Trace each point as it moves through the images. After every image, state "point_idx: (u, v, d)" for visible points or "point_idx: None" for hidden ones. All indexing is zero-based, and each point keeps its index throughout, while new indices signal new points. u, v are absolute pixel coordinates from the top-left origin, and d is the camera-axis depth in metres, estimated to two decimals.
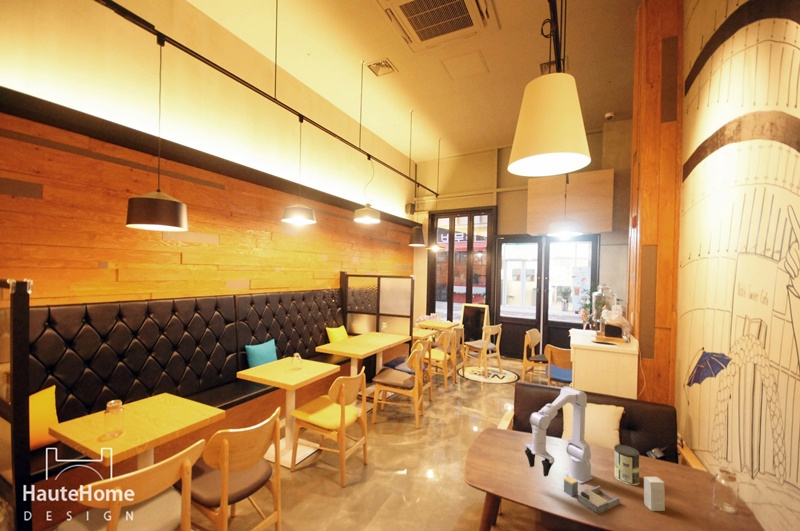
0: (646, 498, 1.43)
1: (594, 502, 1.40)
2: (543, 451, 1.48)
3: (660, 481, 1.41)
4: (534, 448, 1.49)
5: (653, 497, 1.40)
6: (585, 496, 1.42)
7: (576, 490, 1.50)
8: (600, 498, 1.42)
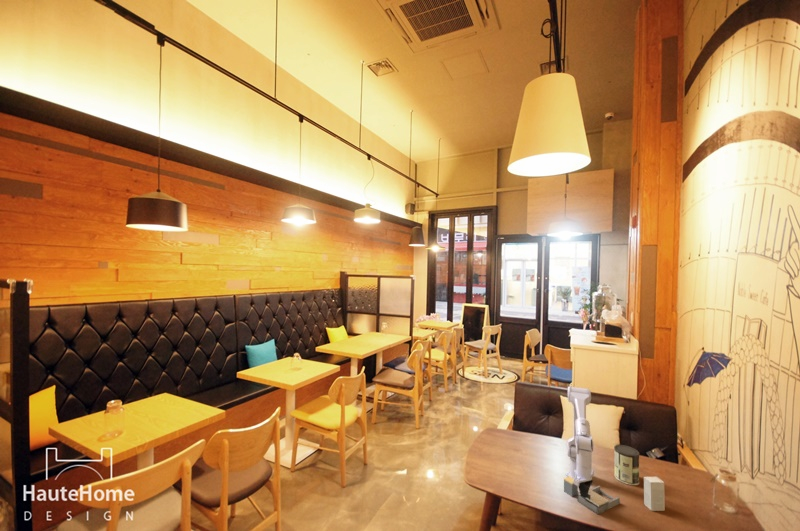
0: (646, 498, 1.43)
1: (595, 502, 1.40)
2: (579, 474, 1.42)
3: (660, 481, 1.41)
4: None
5: (653, 497, 1.40)
6: None
7: (576, 490, 1.50)
8: (601, 498, 1.42)
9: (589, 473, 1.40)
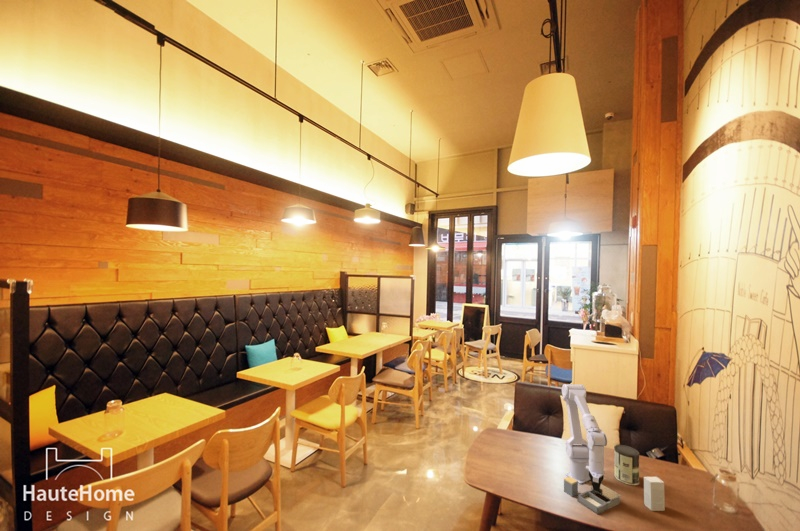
0: (646, 498, 1.43)
1: (607, 496, 1.44)
2: (594, 469, 1.45)
3: (660, 481, 1.41)
4: (589, 463, 1.49)
5: (653, 497, 1.40)
6: None
7: (576, 490, 1.50)
8: (613, 492, 1.46)
9: (603, 467, 1.45)
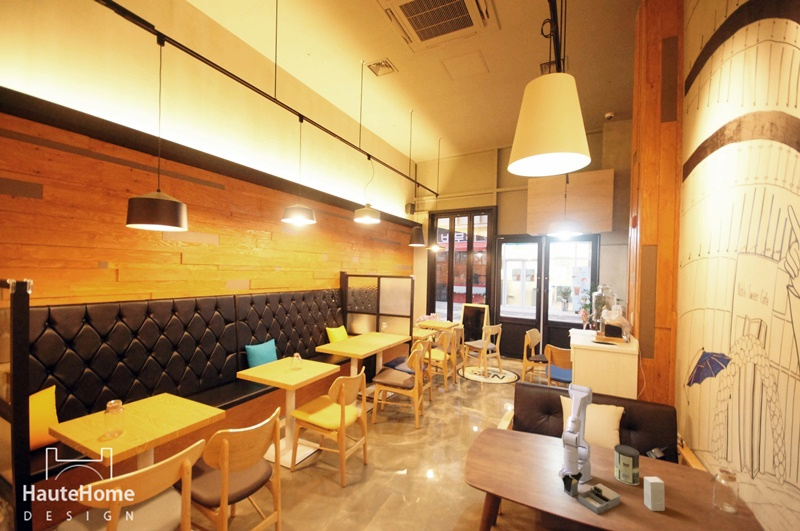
0: (646, 498, 1.43)
1: (607, 496, 1.44)
2: (566, 467, 1.50)
3: (660, 481, 1.41)
4: None
5: (653, 497, 1.40)
6: (598, 490, 1.46)
7: (576, 490, 1.50)
8: (612, 492, 1.46)
9: (575, 467, 1.48)
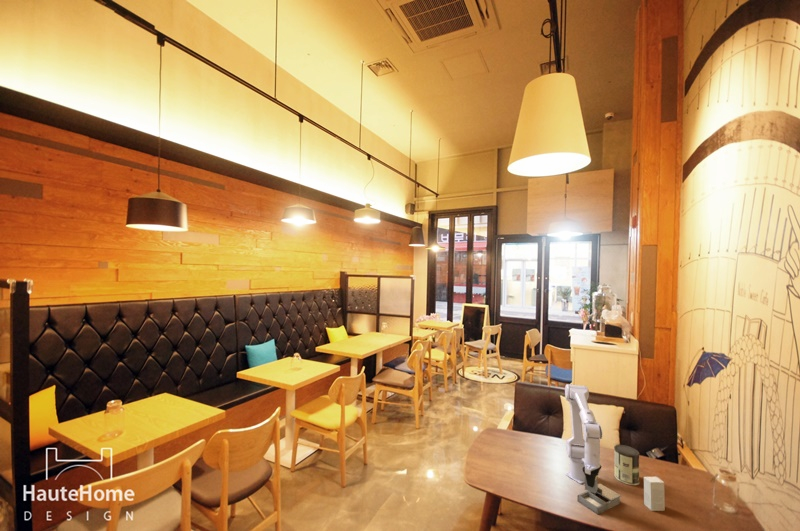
0: (646, 498, 1.43)
1: (607, 496, 1.44)
2: (589, 462, 1.42)
3: (660, 481, 1.41)
4: None
5: (653, 497, 1.40)
6: (598, 490, 1.46)
7: (597, 485, 1.43)
8: (612, 492, 1.46)
9: (598, 460, 1.41)
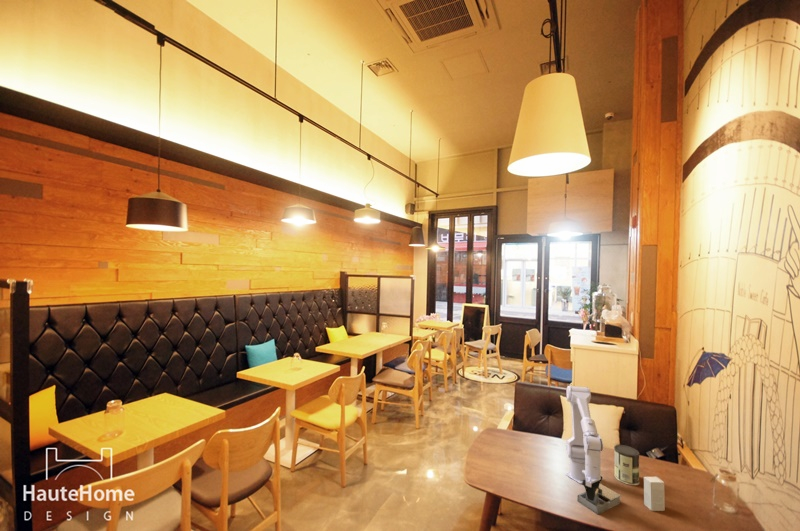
0: (646, 498, 1.43)
1: (607, 496, 1.44)
2: (589, 474, 1.42)
3: (660, 481, 1.41)
4: None
5: (653, 497, 1.40)
6: (598, 490, 1.46)
7: (597, 499, 1.43)
8: (612, 492, 1.46)
9: (599, 473, 1.41)
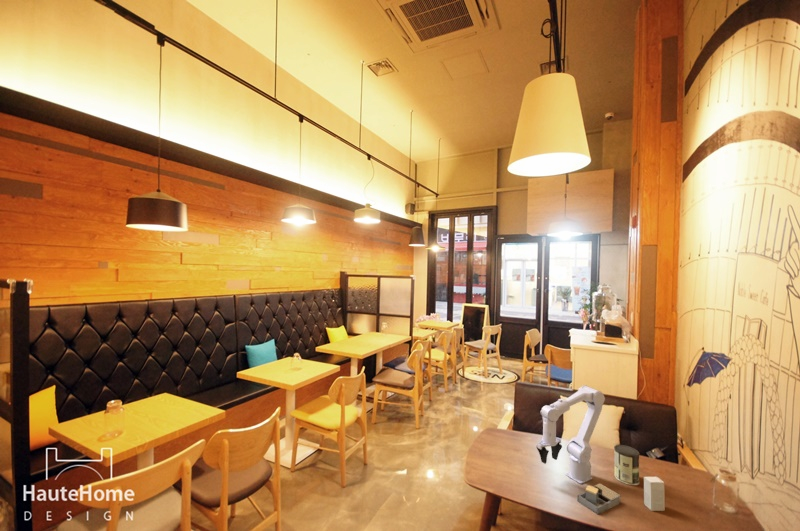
0: (646, 498, 1.43)
1: (607, 496, 1.44)
2: (544, 440, 1.58)
3: (660, 481, 1.41)
4: None
5: (653, 497, 1.40)
6: (598, 490, 1.46)
7: (597, 499, 1.43)
8: (612, 492, 1.46)
9: (552, 439, 1.57)
